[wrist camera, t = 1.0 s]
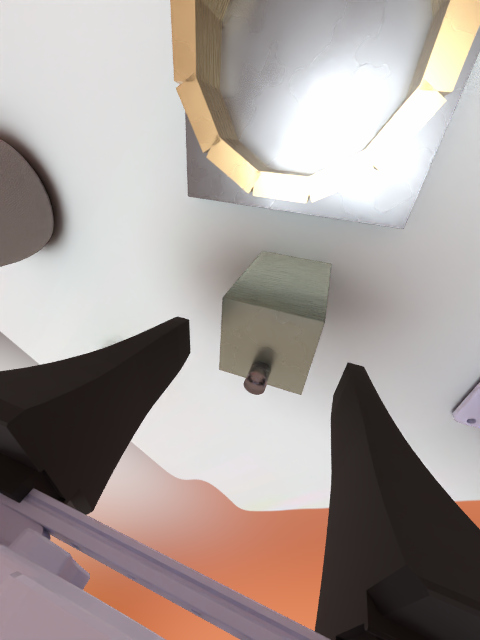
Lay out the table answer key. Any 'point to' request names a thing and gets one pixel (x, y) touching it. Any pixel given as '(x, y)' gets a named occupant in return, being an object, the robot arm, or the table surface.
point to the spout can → (274, 321)
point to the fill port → (320, 100)
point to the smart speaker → (21, 208)
